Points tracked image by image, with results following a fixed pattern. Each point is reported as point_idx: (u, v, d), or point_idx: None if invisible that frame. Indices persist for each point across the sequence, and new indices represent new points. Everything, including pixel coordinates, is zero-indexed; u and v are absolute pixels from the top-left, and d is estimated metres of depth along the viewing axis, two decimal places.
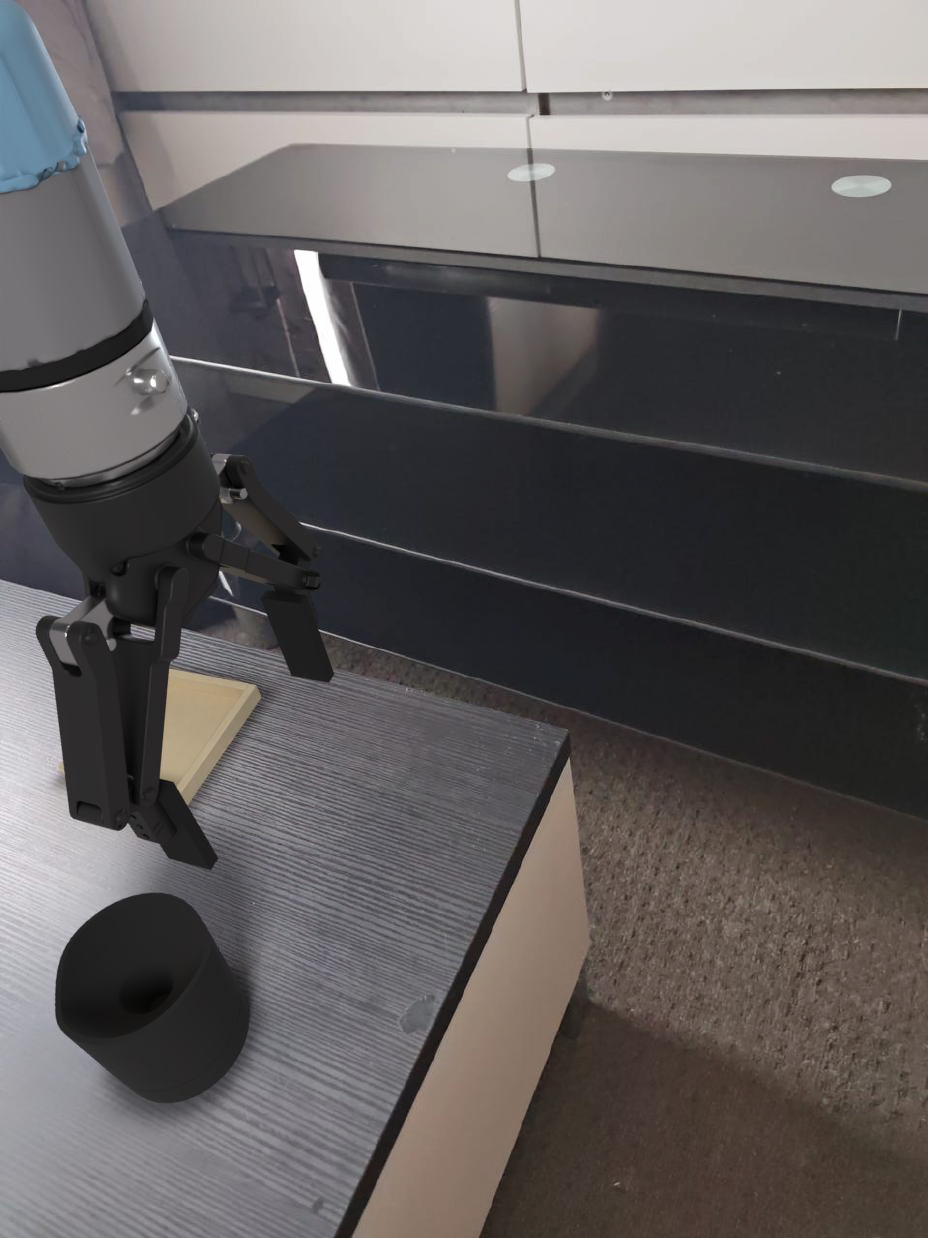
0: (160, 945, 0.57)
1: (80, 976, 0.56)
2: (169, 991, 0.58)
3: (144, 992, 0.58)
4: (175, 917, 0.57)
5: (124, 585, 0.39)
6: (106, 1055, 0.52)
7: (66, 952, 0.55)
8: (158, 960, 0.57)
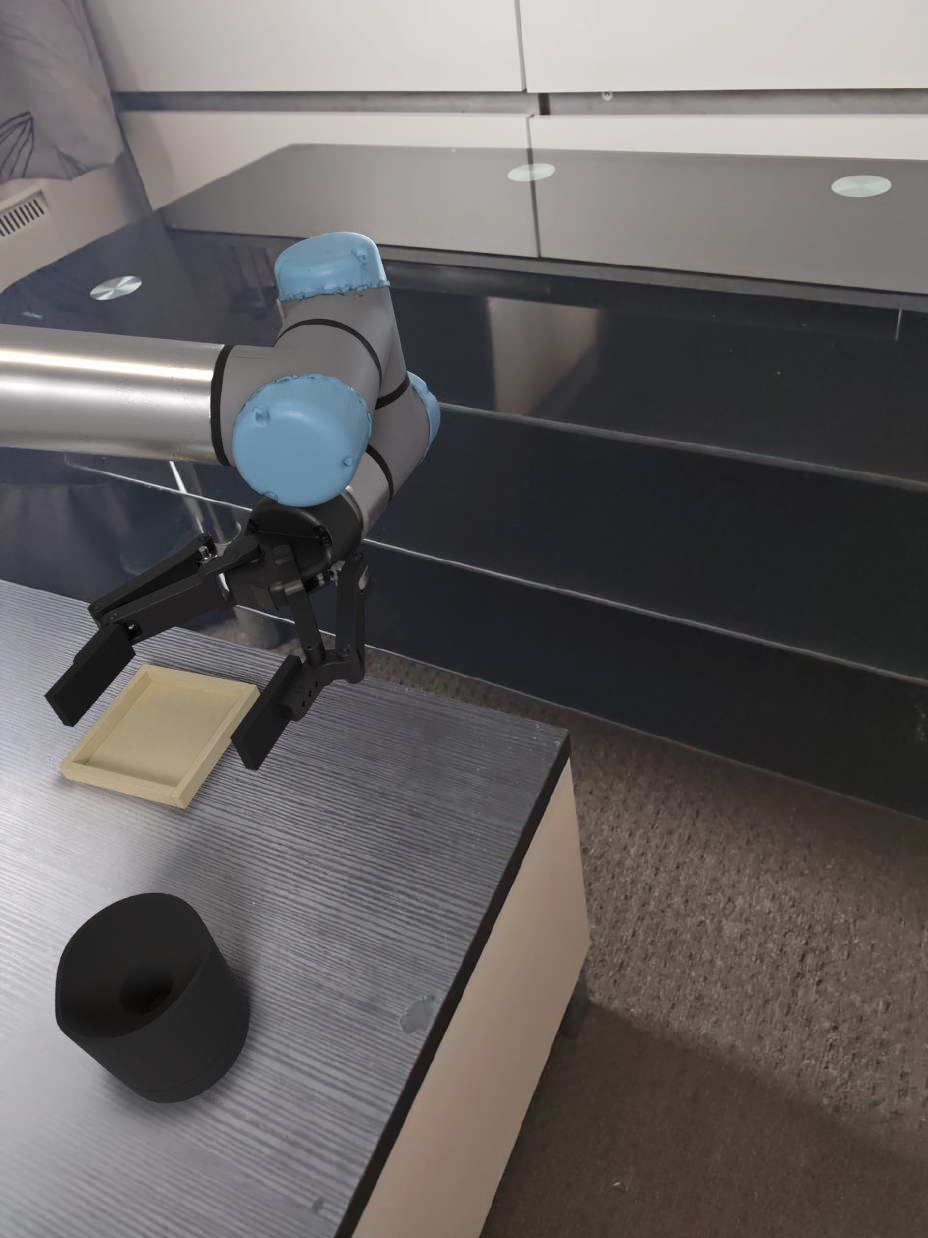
0: (160, 945, 0.57)
1: (80, 976, 0.56)
2: (169, 991, 0.58)
3: (144, 992, 0.58)
4: (175, 917, 0.57)
5: None
6: (106, 1055, 0.52)
7: (66, 952, 0.55)
8: (158, 960, 0.57)
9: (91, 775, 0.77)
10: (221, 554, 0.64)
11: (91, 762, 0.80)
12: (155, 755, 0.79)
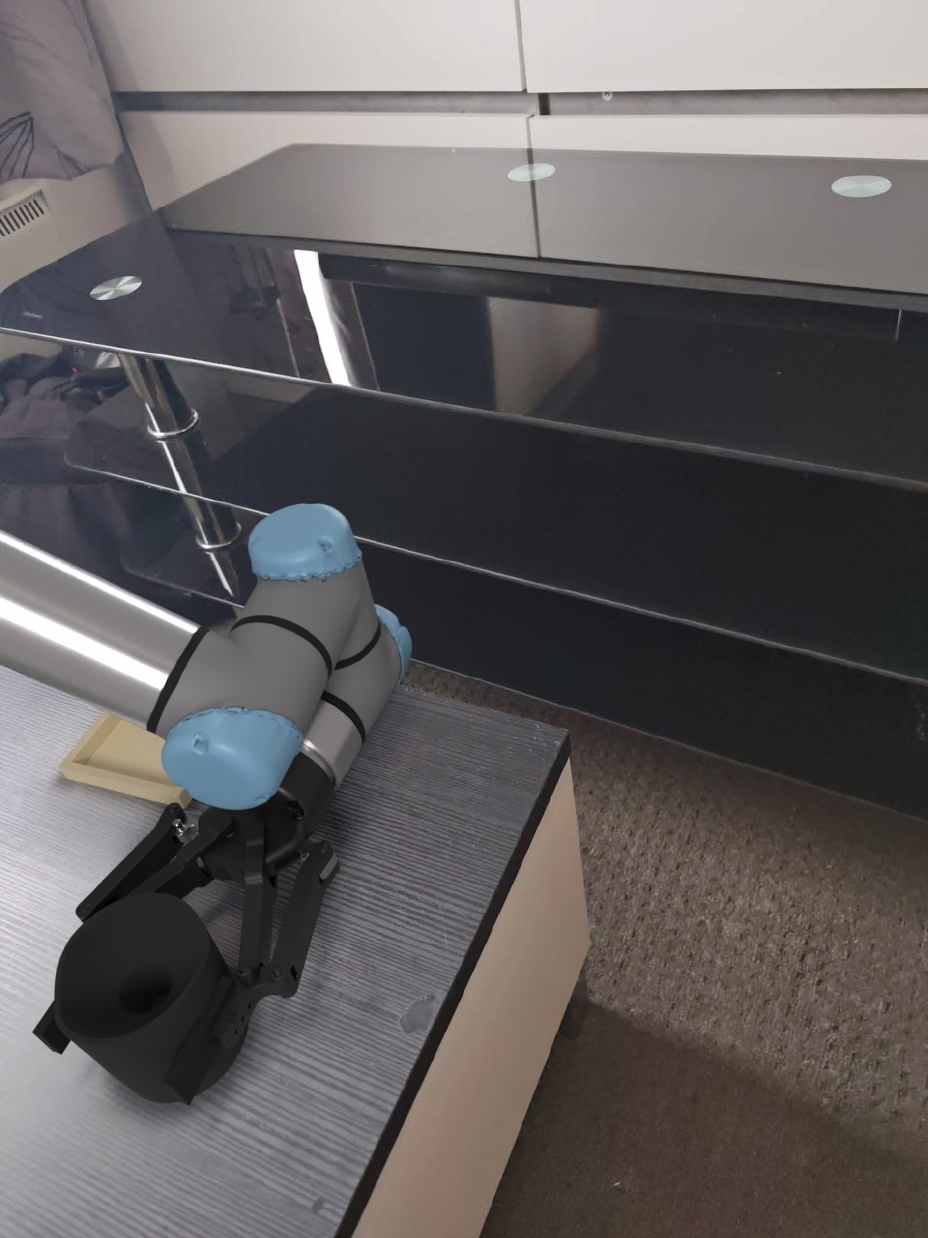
0: (159, 945, 0.57)
1: (80, 976, 0.56)
2: (168, 991, 0.58)
3: (143, 992, 0.58)
4: (174, 917, 0.57)
5: None
6: (105, 1056, 0.52)
7: (65, 952, 0.55)
8: (157, 960, 0.57)
9: (91, 775, 0.77)
10: (195, 823, 0.66)
11: (91, 762, 0.80)
12: (155, 755, 0.79)
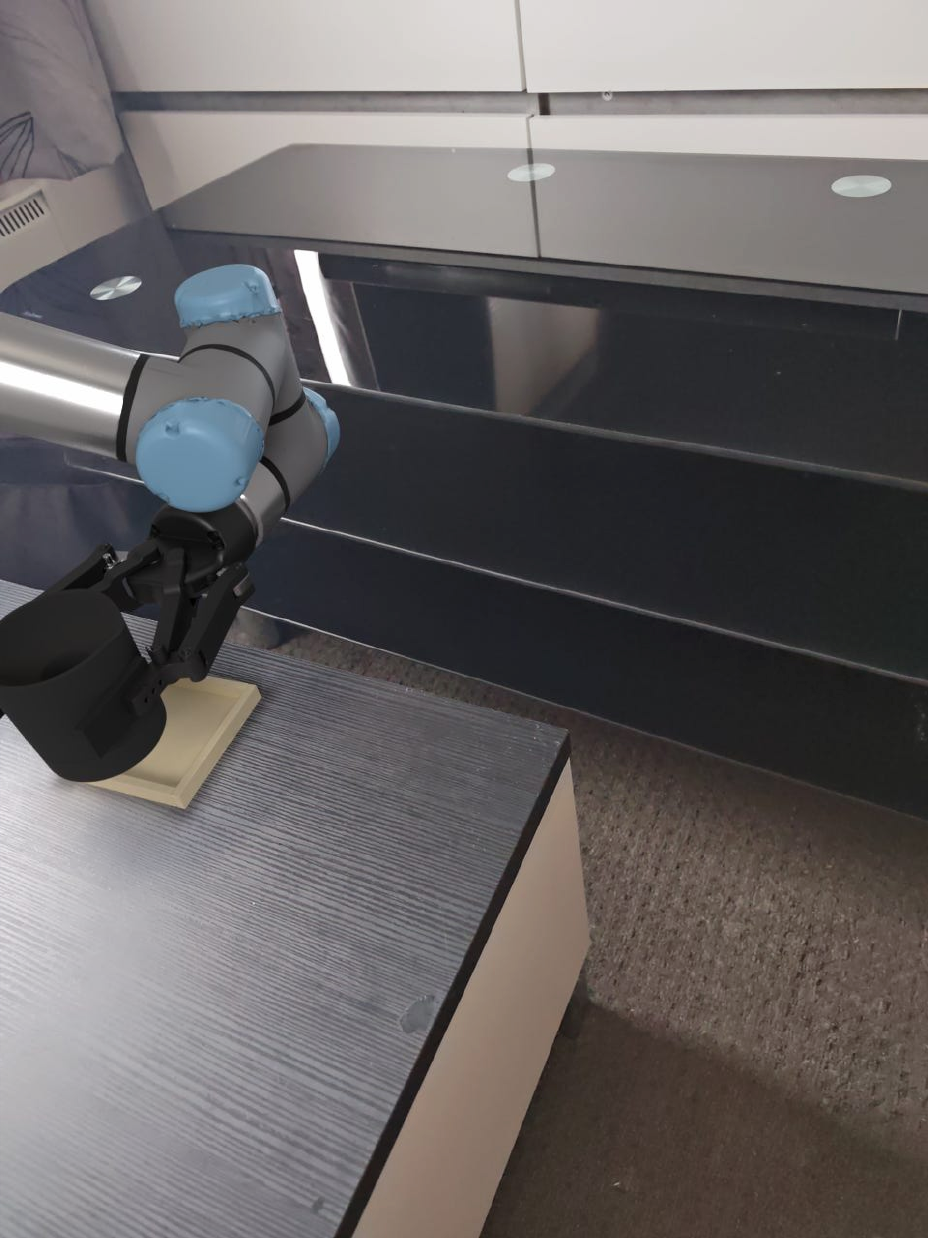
0: (81, 637, 0.62)
1: (5, 656, 0.60)
2: None
3: None
4: (94, 610, 0.62)
5: None
6: (23, 707, 0.57)
7: None
8: (79, 650, 0.62)
9: None
10: (124, 559, 0.70)
11: None
12: (155, 755, 0.79)
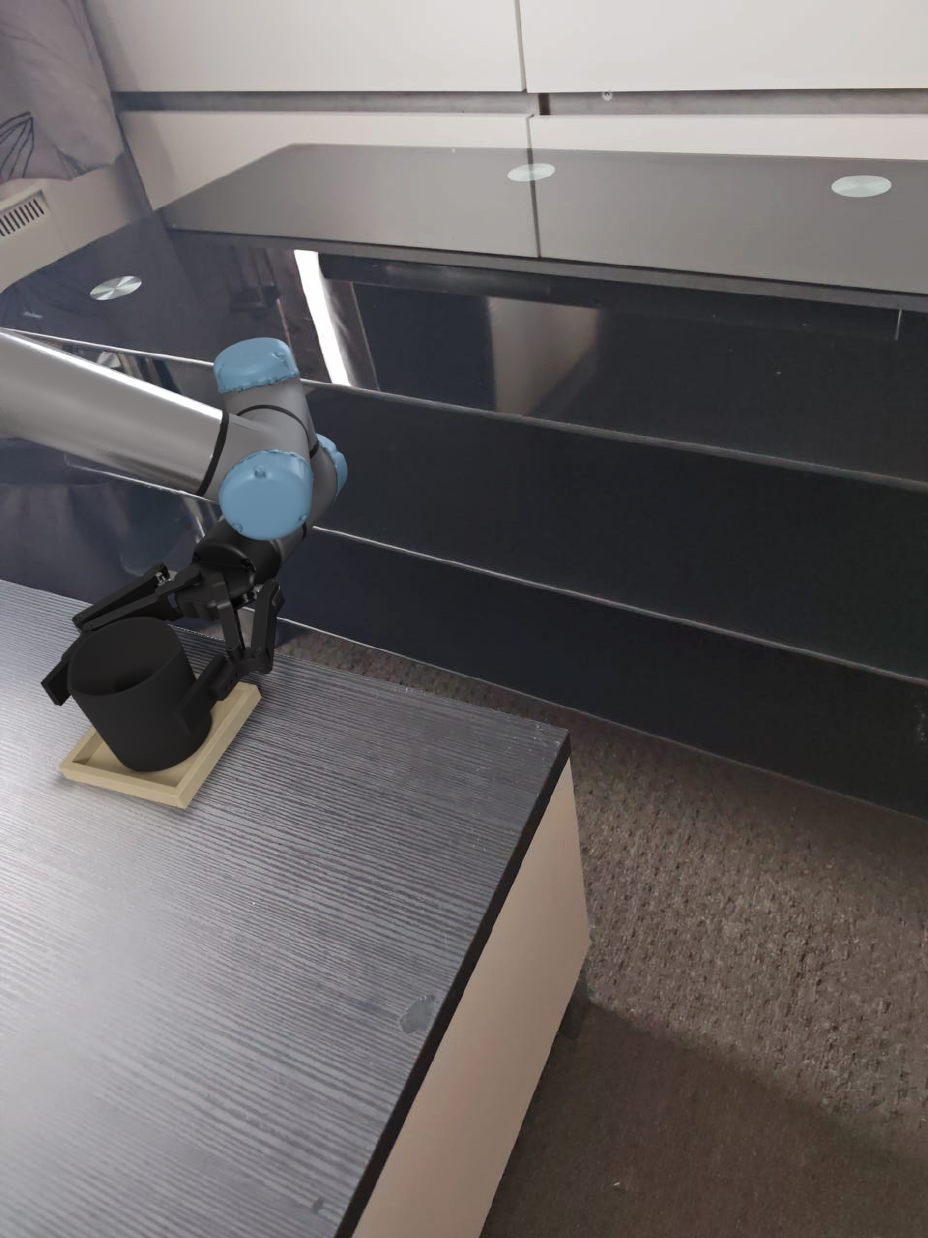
0: (144, 656, 0.78)
1: (85, 671, 0.76)
2: None
3: None
4: (155, 633, 0.77)
5: None
6: (104, 712, 0.72)
7: (75, 652, 0.76)
8: (143, 665, 0.77)
9: (91, 775, 0.77)
10: (172, 578, 0.86)
11: (91, 762, 0.80)
12: None
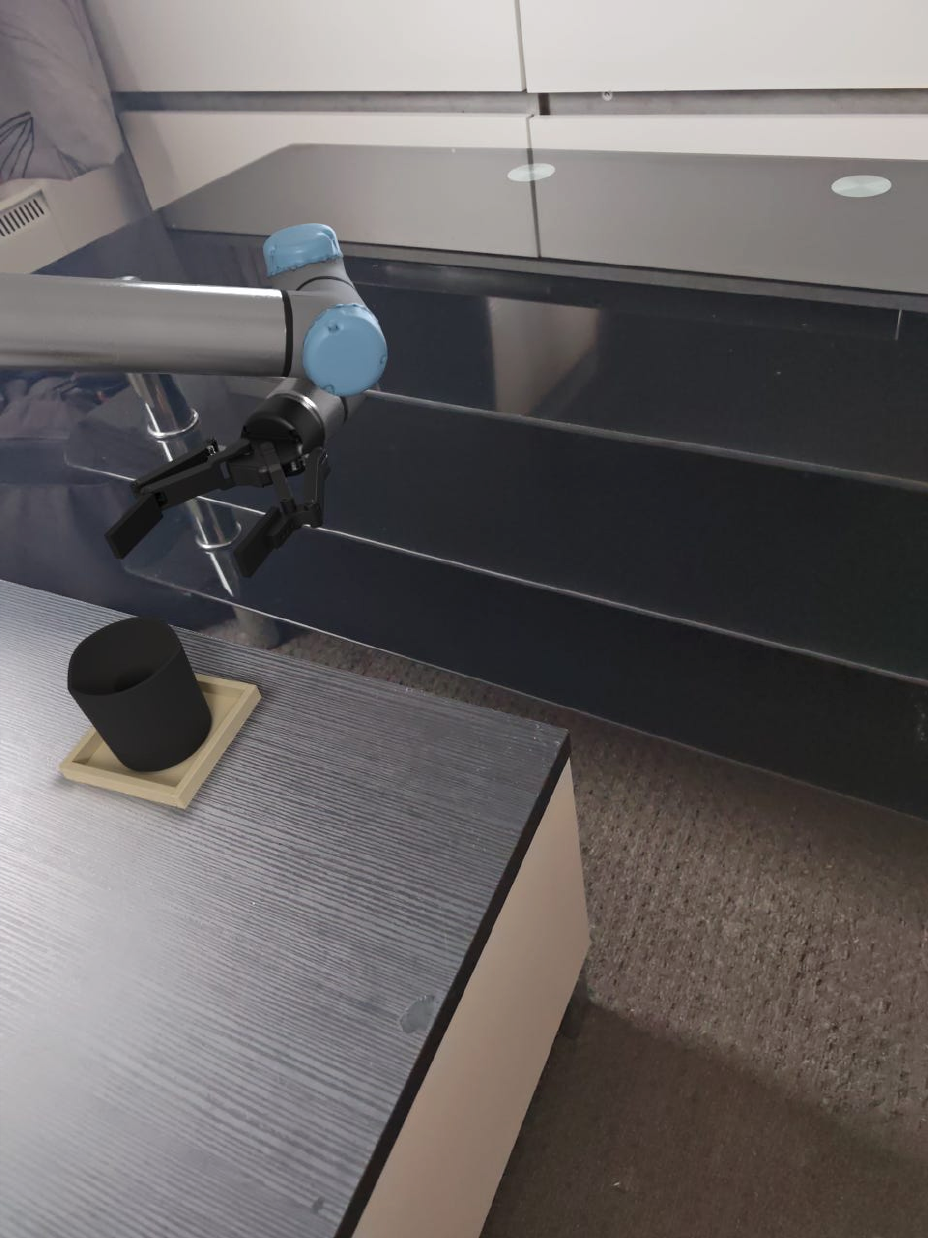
0: (144, 656, 0.78)
1: (86, 671, 0.76)
2: None
3: None
4: (155, 633, 0.77)
5: None
6: (104, 712, 0.72)
7: (75, 652, 0.76)
8: (143, 665, 0.77)
9: (91, 775, 0.77)
10: None
11: (91, 762, 0.80)
12: None
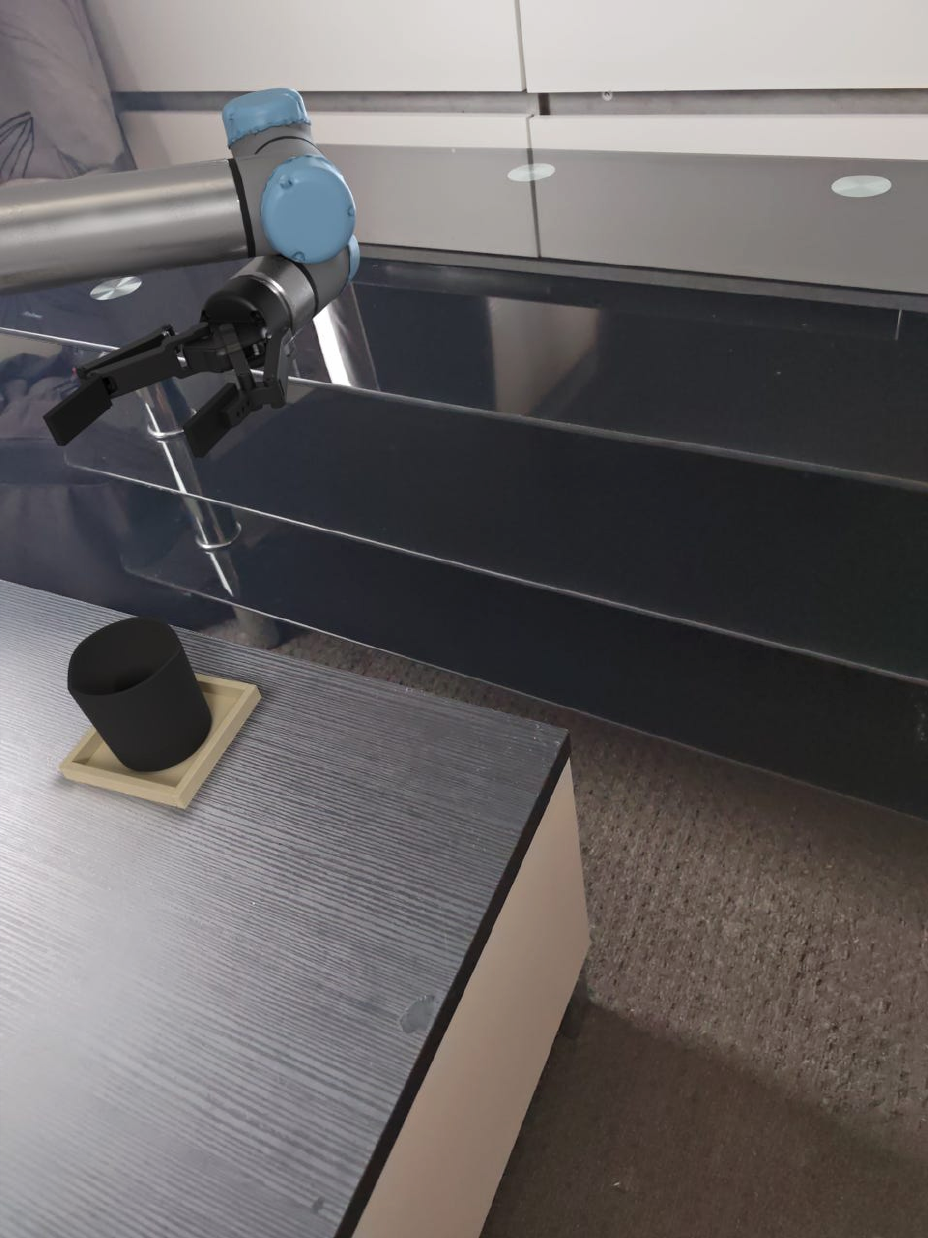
0: (144, 656, 0.78)
1: (86, 671, 0.76)
2: None
3: None
4: (155, 633, 0.77)
5: None
6: (104, 711, 0.72)
7: (75, 652, 0.76)
8: (143, 665, 0.77)
9: (91, 775, 0.77)
10: None
11: (91, 762, 0.80)
12: None
